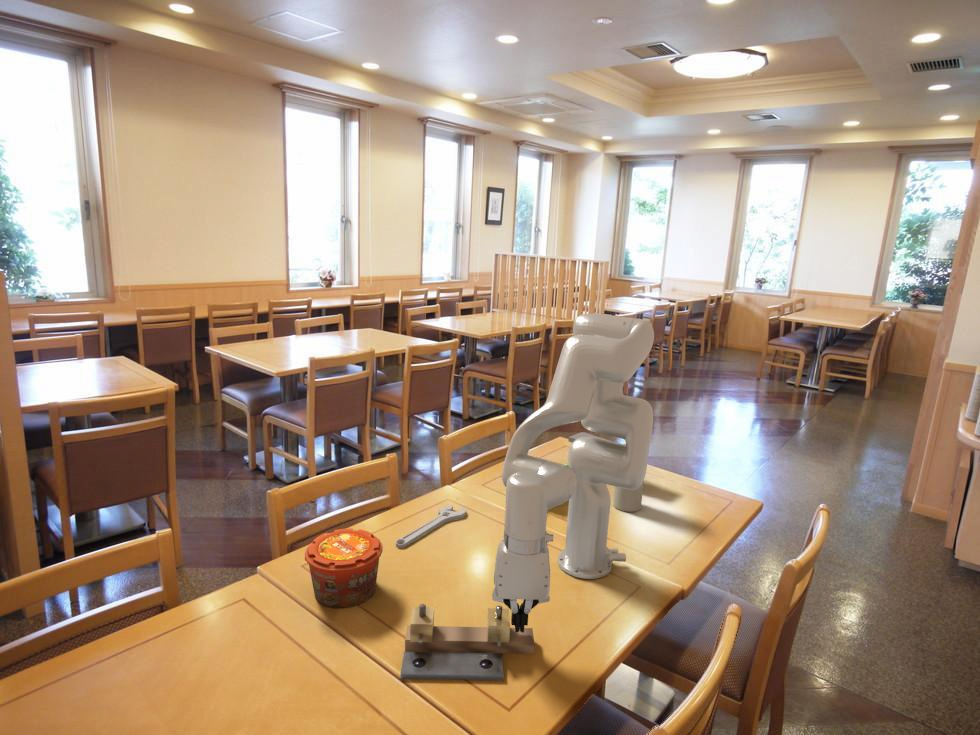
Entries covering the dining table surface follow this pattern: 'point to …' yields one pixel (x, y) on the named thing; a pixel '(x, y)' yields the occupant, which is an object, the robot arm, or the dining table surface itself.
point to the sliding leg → (498, 625)
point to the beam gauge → (459, 637)
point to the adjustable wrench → (431, 525)
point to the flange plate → (452, 666)
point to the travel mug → (628, 498)
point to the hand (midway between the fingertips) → (519, 627)
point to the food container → (344, 567)
